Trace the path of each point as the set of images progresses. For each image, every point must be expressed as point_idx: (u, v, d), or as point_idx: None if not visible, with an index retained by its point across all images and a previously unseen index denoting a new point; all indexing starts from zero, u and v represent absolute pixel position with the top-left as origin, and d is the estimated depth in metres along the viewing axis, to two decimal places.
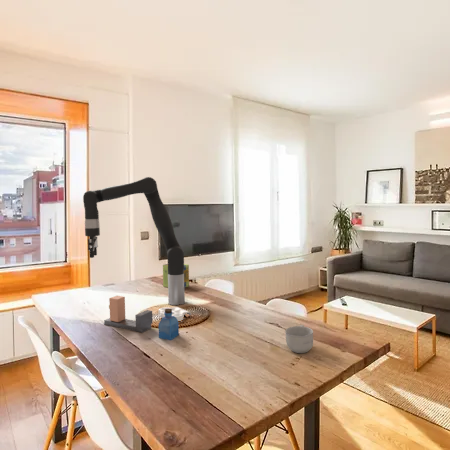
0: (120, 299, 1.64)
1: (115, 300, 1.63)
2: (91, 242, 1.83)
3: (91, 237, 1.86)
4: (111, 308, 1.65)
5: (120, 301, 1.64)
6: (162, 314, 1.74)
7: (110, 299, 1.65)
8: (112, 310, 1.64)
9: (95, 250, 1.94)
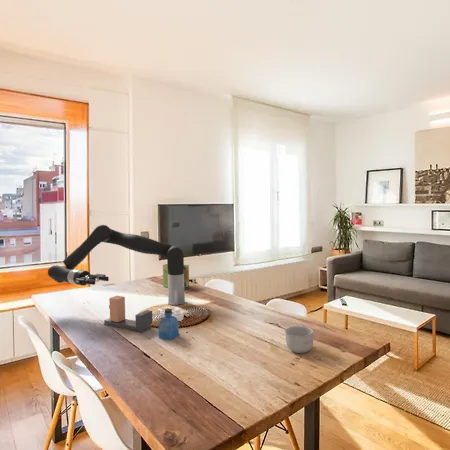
0: (120, 299, 1.64)
1: (115, 300, 1.63)
2: (77, 280, 1.68)
3: None
4: (111, 308, 1.65)
5: (120, 301, 1.64)
6: (162, 314, 1.74)
7: (110, 299, 1.65)
8: (112, 310, 1.64)
9: (103, 277, 1.75)
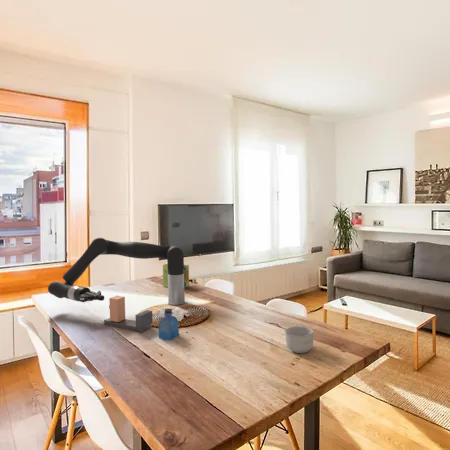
0: (120, 299, 1.64)
1: (115, 300, 1.63)
2: (84, 297, 1.69)
3: (80, 296, 1.72)
4: (111, 308, 1.65)
5: (120, 301, 1.64)
6: (162, 314, 1.74)
7: (110, 299, 1.65)
8: (112, 310, 1.64)
9: None
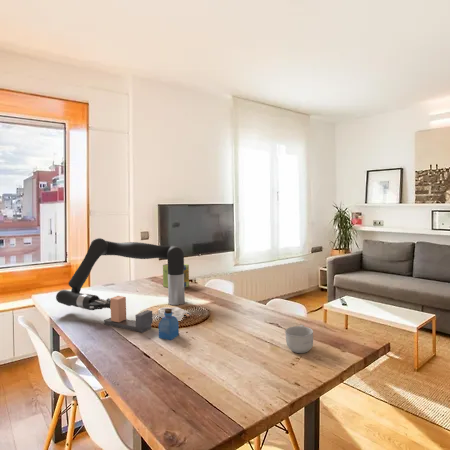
0: (121, 299, 1.64)
1: (116, 300, 1.63)
2: (93, 306, 1.67)
3: (89, 304, 1.70)
4: (112, 308, 1.64)
5: (121, 301, 1.64)
6: (162, 314, 1.74)
7: (111, 299, 1.64)
8: (113, 310, 1.64)
9: None
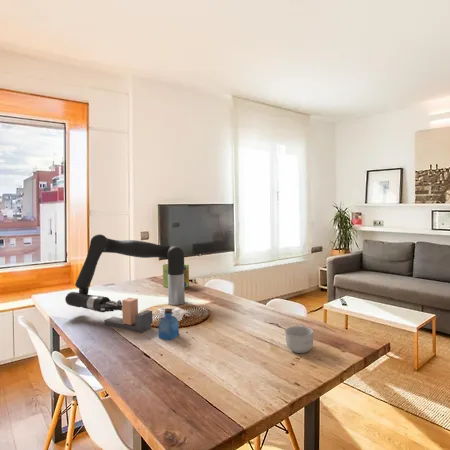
0: (133, 301, 1.61)
1: (128, 302, 1.59)
2: (104, 308, 1.63)
3: (100, 306, 1.66)
4: (124, 310, 1.61)
5: (133, 304, 1.61)
6: (161, 314, 1.74)
7: (122, 301, 1.61)
8: (125, 312, 1.61)
9: None
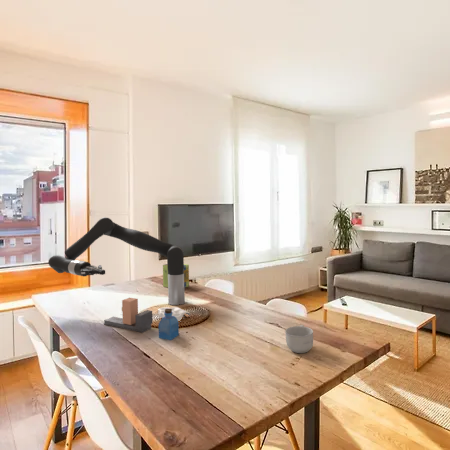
0: (133, 301, 1.61)
1: (128, 302, 1.59)
2: (84, 271, 1.68)
3: (80, 270, 1.72)
4: (124, 310, 1.61)
5: (133, 304, 1.61)
6: (161, 314, 1.74)
7: (122, 301, 1.61)
8: (125, 312, 1.61)
9: None
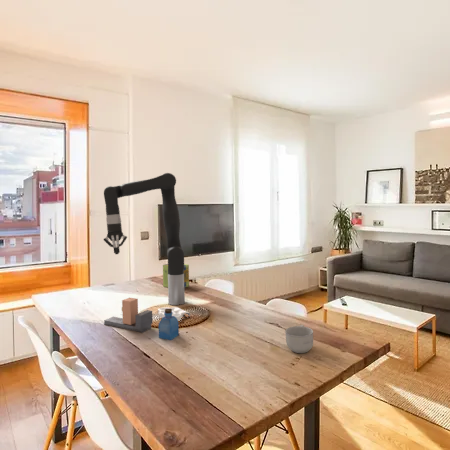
0: (133, 301, 1.61)
1: (128, 302, 1.59)
2: None
3: None
4: (124, 310, 1.61)
5: (133, 304, 1.61)
6: (161, 314, 1.74)
7: (122, 301, 1.61)
8: (125, 312, 1.61)
9: None
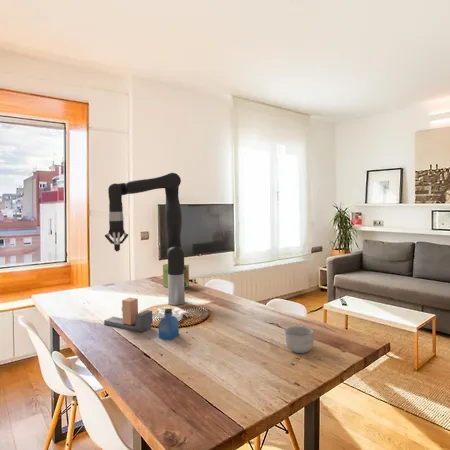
0: (133, 301, 1.61)
1: (128, 302, 1.59)
2: None
3: None
4: (124, 310, 1.61)
5: (133, 304, 1.61)
6: (161, 314, 1.74)
7: (122, 301, 1.61)
8: (125, 312, 1.61)
9: None
